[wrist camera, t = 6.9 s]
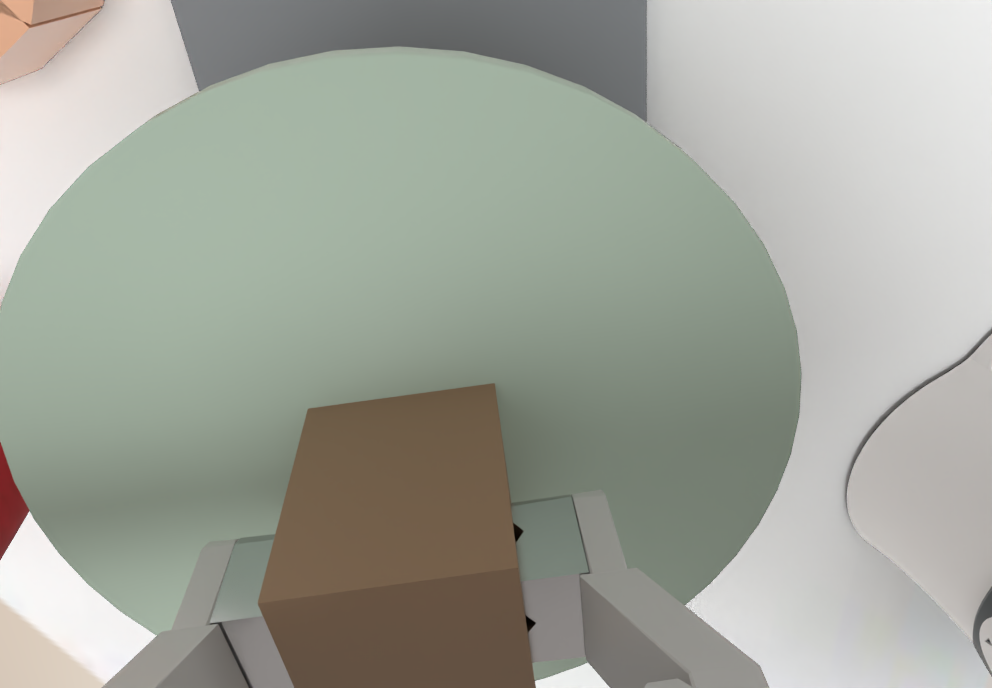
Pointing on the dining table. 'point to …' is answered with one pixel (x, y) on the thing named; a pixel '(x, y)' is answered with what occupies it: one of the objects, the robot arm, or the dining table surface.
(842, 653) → the dining table surface
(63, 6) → the bowl
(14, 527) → the paper cup
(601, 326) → the cover
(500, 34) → the mat
